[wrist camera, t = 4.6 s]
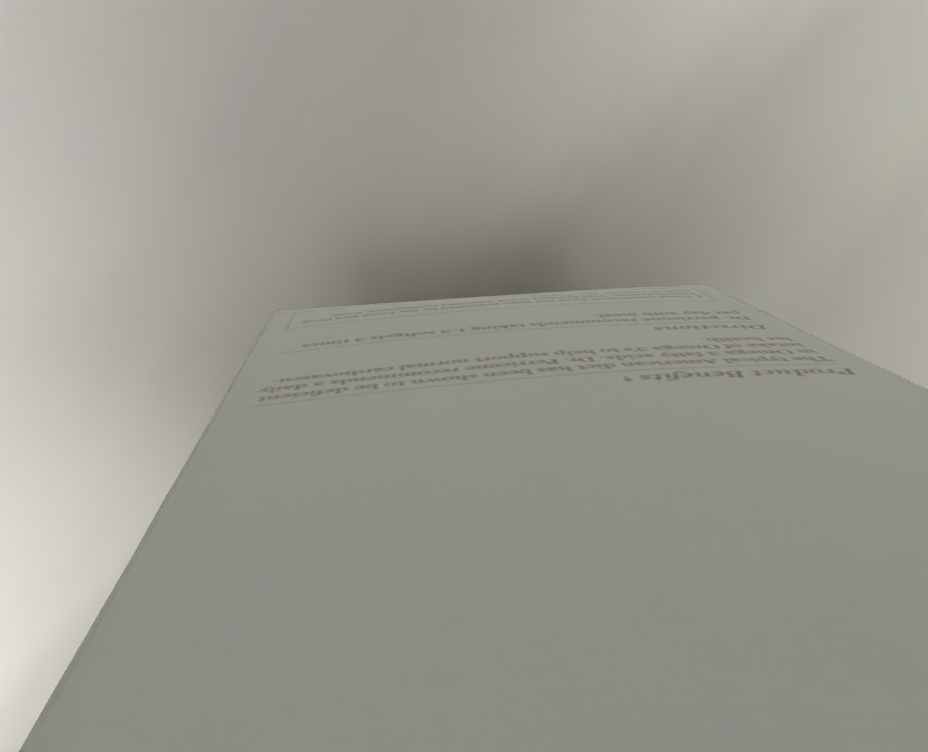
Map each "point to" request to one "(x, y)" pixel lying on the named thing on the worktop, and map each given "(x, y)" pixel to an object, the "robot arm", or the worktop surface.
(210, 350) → the worktop surface
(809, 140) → the worktop surface
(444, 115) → the worktop surface
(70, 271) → the worktop surface
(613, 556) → the supplement box
